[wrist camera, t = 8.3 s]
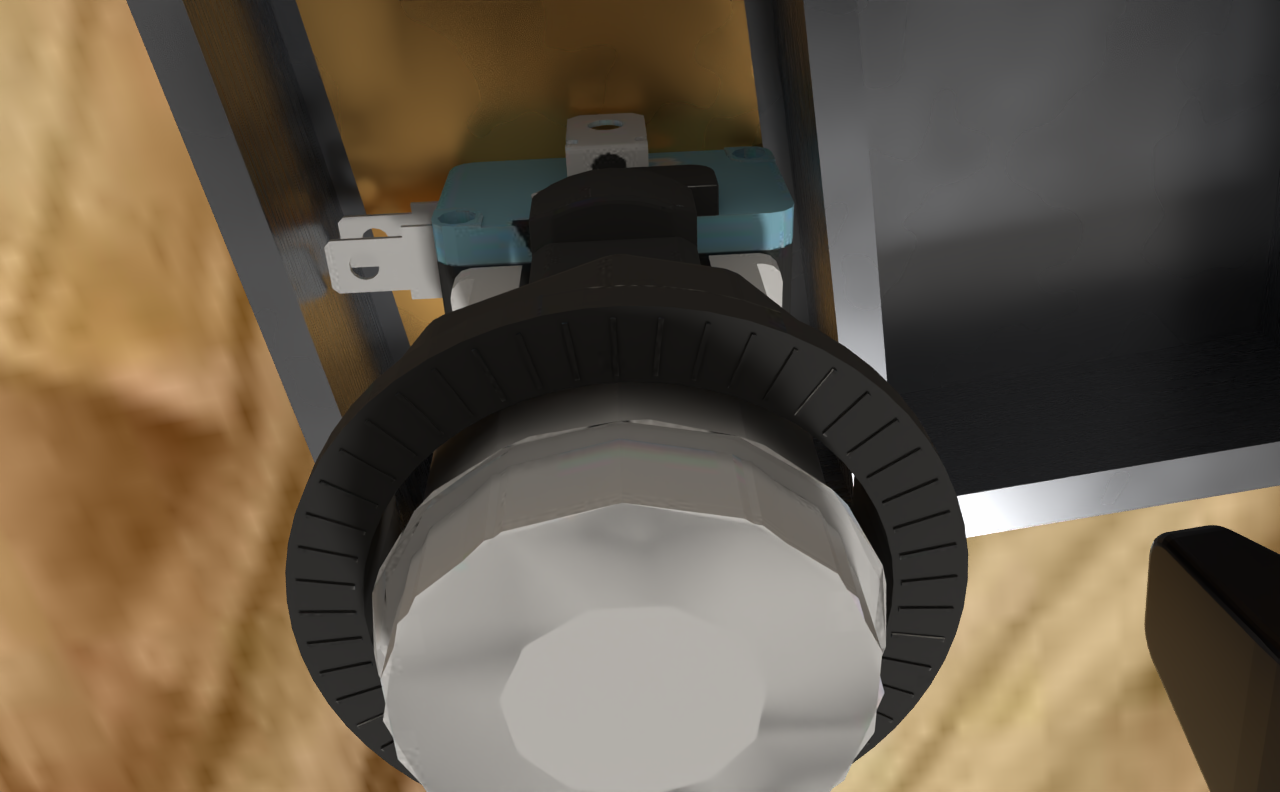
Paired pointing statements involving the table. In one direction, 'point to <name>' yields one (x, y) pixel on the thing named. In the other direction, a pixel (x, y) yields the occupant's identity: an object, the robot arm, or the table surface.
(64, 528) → the table surface
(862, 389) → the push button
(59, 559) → the table surface
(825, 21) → the divided tray
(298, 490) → the table surface
